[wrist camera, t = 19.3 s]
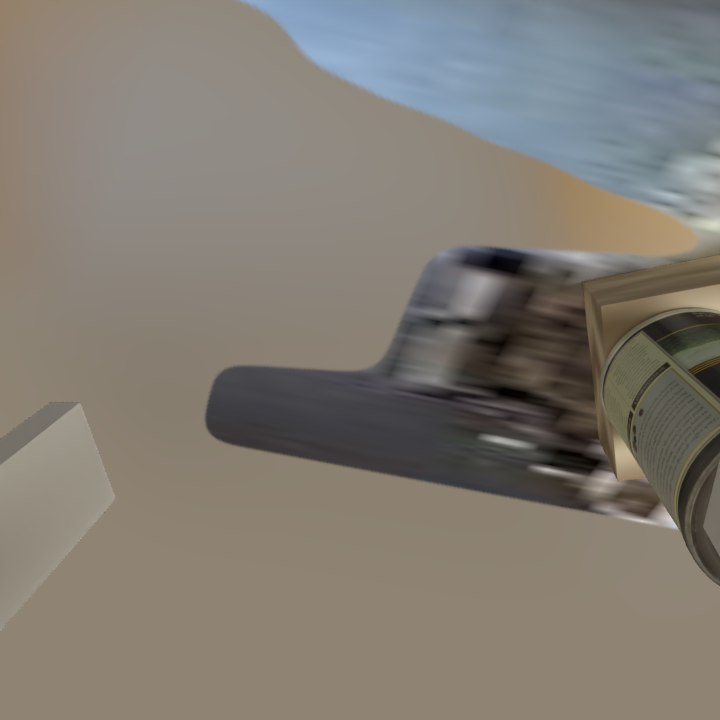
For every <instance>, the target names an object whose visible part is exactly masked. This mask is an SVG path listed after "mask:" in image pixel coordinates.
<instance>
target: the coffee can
mask: <svg viewBox="0 0 720 720" xmlns="http://www.w3.org/2000/svg"><path fill="white" fill-rule="evenodd" d="M599 395H600V401H601V405H602V408H603V410H604V413H605V415H606V417H607V418H608V420H609V421H610V422H611V424H612V425H613V427H614V428H616V430H617V431H618V433H619V435H620V436H621V438H622V439H623V441H624V443H625V444H626V446H627V447H628V449H629V451H630V452H631V454H632V455H633V457H634V458H635V460H636V462H637V463H638V465H639V467H640V468H641V470H642V471H643V473H644V474H645V476H646V478H647V479H648V481H649V482H650V484H651V485H652V487H653V489H654V490H655V492H656V493H657V495H658V497H659V498H660V500H661V501H662V503H663V505H664V506H665V508H666V509H667V511H668V513H669V514H670V516H671V517H672V519H673V521H674V522H675V524H676V525H677V527H678V529H679V530H680V532H681V533H682V535H683V538H684V541H685V543H686V546H687V548H688V550H689V551H690V553H691V555H692V557H693V559H694V560H695V562H696V563H697V565H698V566H699V567H700V569H701V570H702V571H703V572H704V573H705V574H706V575H707V576H708V577H709V578H710V579H711V580H712V581H714V582H715V583H716V584H718V585H719V586H720V556H719V554H718V552H717V551H716V549H715V547H714V545H713V544H712V542H711V540H710V538H709V537H708V535H707V533H706V531H705V530H704V528H703V525H704V521H705V517H706V513H707V509H708V505H709V501H710V497H711V493H712V489H713V485H714V481H715V477H716V473H717V469H718V465H719V461H720V311H716V310H712V309H705V308H685V309H678V310H673V311H669V312H665V313H662V314H659V315H656V316H654V317H652V318H649V319H648V320H646V321H644V322H642V323H640V324H639V325H637V326H635V327H634V328H633V329H631V330H630V331H629V332H628V333H626V334H625V335H624V336H623V337H622V338H621V339H620V340H619V341H618V343H617V344H616V345H615V346H614V348H613V349H612V350H611V352H610V354H609V355H608V357H607V359H606V361H605V363H604V366H603V369H602V371H601V375H600V380H599Z"/></svg>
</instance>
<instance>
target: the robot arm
mask: <svg viewBox="0 0 720 720" xmlns="http://www.w3.org/2000/svg"><path fill="white" fill-rule="evenodd" d="M114 500H115V496H114V493H113V490H112V488H111V485H110V482H109V480H108V477H107V474H106V471H105V469H104V466H103V463H102V461H101V458H100V455H99V452H98V450H97V447H96V444H95V442H94V439H93V436H92V433H91V431H90V428H89V425H88V423H87V420H86V417H85V414H84V412H83V409H82V406H81V404H80V402H50V403H49V404H47V405H46V406H44V407H43V408H42V409H40V410H39V411H38V412H36V413H35V414H34V415H32V416H31V417H29V418H28V419H27V420H25V421H24V422H23V423H21V424H20V425H18V426H17V427H16V428H14V429H13V430H12V431H10V432H9V433H7V434H6V435H5V436H3V437H2V438H1V439H0V631H1V630H2V629H3V628H4V627H5V626H6V624H7V623H8V622H9V621H10V620H11V619H12V617H13V616H14V615H15V614H16V613H17V612H18V611H19V609H20V608H21V607H22V606H23V605H24V604H25V603H26V601H27V600H28V599H29V598H30V597H31V596H32V594H33V593H34V592H35V591H36V590H37V589H38V588H39V586H40V585H41V584H42V583H43V582H44V581H45V579H46V578H47V577H48V576H49V575H50V574H51V573H52V571H53V570H54V569H55V568H56V566H58V564H59V563H60V562H61V561H62V560H63V559H64V557H65V556H66V555H67V554H68V553H69V552H70V551H71V550H72V548H73V547H74V546H75V545H76V544H77V543H78V541H79V540H80V539H81V538H82V537H83V536H84V535H85V533H86V532H87V531H88V530H89V528H91V526H92V525H93V524H94V523H95V522H96V521H97V519H98V518H99V517H100V516H101V515H102V514H103V513H104V512H105V510H106V509H107V508H108V507H109V506H110V504H111V503H112V502H113V501H114ZM703 528H704V530H705V531H706V533H707V535H708V537H709V538H710V540H711V542H712V544H713V545H714V547H715V549H716V551H717V552H718V554H719V556H720V461H719V465H718V469H717V473H716V477H715V481H714V485H713V489H712V493H711V497H710V501H709V505H708V509H707V513H706V517H705V521H704V525H703Z"/></svg>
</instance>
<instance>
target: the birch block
mask: <svg viewBox="0 0 720 720" xmlns="http://www.w3.org/2000/svg"><path fill="white" fill-rule="evenodd" d="M582 285H583V295H584V304H585V313H586V322H587V332H588V341H589V350H590V359H591V369H592V378H593V387H594V397H595V406H596V415H597V424H598V434H599V440H600V443H601V445H602V447H603V449H604V452H605V454H606V456H607V458H608V460H609V463H610V465H611V467H612V469H613V472H614V474H615V476H616V478H617V481H621V480H630V479H640V478H646V476H645V474H644V473H643V471H642V470H641V468H640V467H639V465H638V463H637V462H636V460H635V458H634V457H633V455H632V454H631V452H630V451H629V449H628V447H627V446H626V444H625V443H624V441H623V439H622V438H621V436H620V435H619V433H618V431H617V430H616V428H614V427H613V425H612V424H611V422H610V421H609V420H608V418H607V417H606V415H605V413H604V410H603V408H602V405H601V401H600V395H599V380H600V375H601V371H602V369H603V366H604V363H605V361H606V359H607V357H608V355H609V354H610V352H611V350H612V349H613V348H614V346H615V345H616V344H617V343H618V341H619V340H620V339H621V338H622V337H623V336H624V335H625V334H626V333H628V332H629V331H630V330H631V329H633V328H634V327H635V326H637V325H639V324H640V323H642V322H644V321H646V320H648V319H649V318H652V317H654V316H656V315H659V314H662V313H665V312H669V311H673V310H678V309H685V308H705V309H712V310H716V311H720V255H715V256H710V257H705V258H700V259H695V260H690V261H685V262H680V263H675V264H670V265H665V266H660V267H654V268H649V269H644V270H639V271H634V272H629V273H624V274H619V275H614V276H609V277H604V278H599V279H594V280H588V281H583V282H582Z"/></svg>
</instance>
